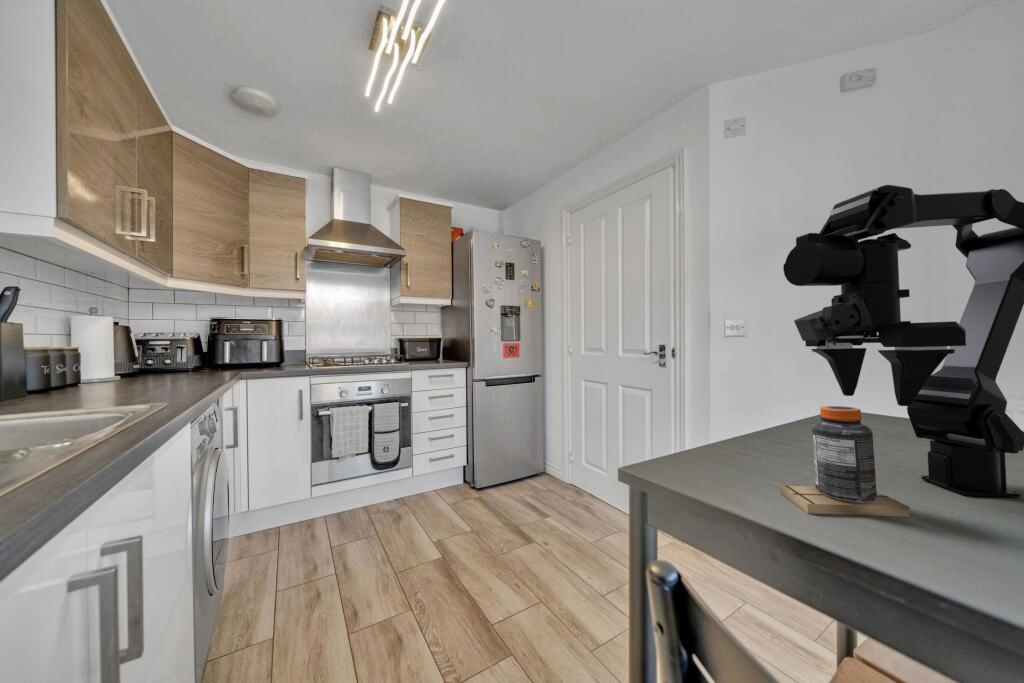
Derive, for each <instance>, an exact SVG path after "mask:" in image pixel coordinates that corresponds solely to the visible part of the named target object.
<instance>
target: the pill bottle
mask: <svg viewBox="0 0 1024 683" xmlns="http://www.w3.org/2000/svg"><path fill="white" fill-rule="evenodd" d="M819 411H820V412H819V414H820V415H819V416H820V420H818V421H817V422H815V423H814V424H813V425H812V427H811V431H812V432H811V433H812V434H811V438H812V450H813V464H814V465H813V466H814V480H815V482H814V484H815V486H816V489H817V490H818V491H819V492H820V493H822V494H824V495H826V496H828V497H831V498H835V499H839V500H844V501H849V502H861V503H864V502H872V501H874V500H876V498H877V492H878V491H877V490H878V489H877V477H876V476H877V475H876V467H875V466H876V465H875V462H876V460H875V449H874V437H873V431H872V429H871V428H870V427H869V426H867V425H864V424H863V423H862V422H861V421H862V419H863V416H862V411H861V408H858V407H851V406H843V405H842V406H841V405H840V406H838V405H829V406H828V405H826V406H821V407H820V408H819Z"/></svg>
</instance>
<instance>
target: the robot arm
mask: <svg viewBox="0 0 1024 683" xmlns="http://www.w3.org/2000/svg"><path fill="white" fill-rule="evenodd" d="M994 219H997V221H999V222H1001V223H1003V224H1006V225H1010V226H1011V228H1007V229H1003V230H1002V229H1001V230H999V231H998V230H997V231H993V232H988V233H984V234H981V235H978V234H977V233H976V232H975V231H974V230H973V224H977V223H982V222H985V221H989V220H994ZM941 226H942V227H943V226H952V227H953V229H955V230H956V238H955V239H956V240H955V245H954V246H955V247H956V249H957V250H958V251H959V252H960V253H961V254H962V255H963V256H964V257H965V258H966V262H965V267H966V269H967V271H968V272H969V273H970V275H971V276H972V278H973V279H974V285H973V287H972V290H971V292H970V295H969V297H968V301H967V303H966V306H965V308H964V311H963V313H962V316H961V318H960V320H959V323H958V322H957V321H931V322H930V321H929V322H911V321H912V320H903V321H902V320H901V318H902V317H901V299H904V298H910V297H911V296H910V288H906V289H901V288H900V273H899V271H900V270H899V252H901V251H905V250H909V249H911V248H912V244H911V243H910V242H909V241H908V240H906V239H903V238H902V237H900V236H899V235H898V234H897V233H895V232H892V233H889V234H885V235H882V234H884V233H885V232H887V231H890V230H896V229H897V230H899V229H909V228H910V229H912V228H913V229H914V228H925V227H926V228H927V227H928V228H929V227H941ZM878 235H881V236H878ZM874 236H877V237H876V238H870V237H874ZM782 270H783V273H784V274H783V275H784V277H785V279H786V280H787V281H788V283H790V284H791V285H793V286H796V287H814V286H815V287H818V286H820V287H825V286H826V287H832V286H833V287H835V286H837V287H838V286H840V291H841V292H840V294H837V295H833V296H832V298H831V300H830V302H831V306H825V307H823V308H822V309H821V310H818V311H816V312H815V311H814V312H812V313H809V314H807V315H805V316H802V317H799V318H796V319H794V320H793V322H794V324H795V327H796V329H797V331H798V334H799V335H800V338H801V340H802V341H803V342H804V343H805V347H815V348H811V351H812V352H813V353H816V354H818V355H820V356H821V357H822V358H824V359H825V360H826V362H827V363H828V365H829V367H830V368H831V371H832V373H833V375H834V377H835V379H836V381H837V383H838V385H839V388H840V391H841V392H842V395H843V396H845V397H853V396H854V395H855V391H856V389H857V387H858V383H859V380H860V376H861V375H860V374H861V371H862V367H863V363H864V359H865V356H866V352H867V348H866V347H853V346H863V344H879V343H880V344H881V346H882V347H883V348H894V349H878V350H877V351H878V353H879V354H880V355H881V356H882V357H883V358H884V359H886V360H887V361H888V362H889V363H890V367H891V375H892V381H893V389H894V396H895V400H896V403H897V405H898V406H900V407H906V412H907V415H908V418H909V420H910V423H911V426H912V429H913V432H914V434H915V437H916V438H918V439H926V440H929V449H930V450H928V452H927V464H928V465H927V466H928V475H921V479H922V480H924V481H926V482H929V483H931V484H934V485H935V486H940V487H942V488H945V489H948V490H950V491H953V492H955V493H957V494H960V495H964V496H971V497H973V496H974V497H978V496H979V497H1005V498H1006V497H1007V498H1008V497H1009V498H1010V497H1013V498H1015V497H1016V498H1019V497H1022V494H1021V493H1022V492H1019V491H1015V490H1013V489H1009V488H1008V487H1007V485H1008V484H1007V465H1006V454H1019V452H1022V451H1023V450H1024V431H1023V430H1022V429H1021V428H1020V426H1018V424H1016V423H1015V421H1014V420H1013V419H1012V418H1011V417H1010V416H1009V415H1008V414H1007V413H1006V410H1007V405H1008V401H1007V399H1006V397H1005V395H1004V393H1003V392H1002V390H1001V388H1000V387H999V385H998V383H997V382H996V381H997V376H998V374H999V372H1000V369H1001V365H1002V363H1003V360H1004V358H1005V355H1006V353H1007V349H1008V348H1009V346H1010V342H1011V339H1012V337H1013V334H1014V332H1015V330H1016V326H1017V324H1018V322H1019V318H1020V316H1021V313H1022V311H1023V307H1024V202H1022V201H1019V200H1017V199H1016V198H1015V197H1014V196H1013V195H1012V194H1011V193H1010V192H1009V191H1008V190H1006V189H1004V188H999V189H993V188H992V189H988V190H985V191H967V192H963V191H962V192H949V193H946V192H945V193H930V194H929V193H928V194H925V193H924V194H918V193H915V192H914V190H913V189H912V188H911V187H908V186H907V187H906V186H901V185H900V186H899V185H892V184H885V185H881V186H878V187H877V188H874V189H872V190H869V191H866V192H863V193H861V194H858V195H855V196H853V197H850V198H847V199H845V200H842V201H840V202H837V203H835V204H834V205H833V208H832V209H831V210H830V214H829V217H828V219H827V220H826V222H825V224H823V226H822V228H821V229H820V231H819V232H808V233H804V234H802V235H800V236H797V237H796V238H795V246H794V247H793V248H792V249H791V250H790V251H789V253H788V255H787V257H786V259H785V262H784V264H783V269H782ZM948 347H949V348H948ZM943 361H944V362H943ZM942 362H943V365H942V366H941V367H940V368H941V369H939V370H938V371H936V369H937V368H938V367H939V366H940V365H941V363H942ZM935 371H936V372H935Z"/></svg>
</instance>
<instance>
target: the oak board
mask: <svg viewBox="0 0 1024 683" xmlns="http://www.w3.org/2000/svg"><path fill="white" fill-rule="evenodd" d="M779 488H780V490H779V491H780V495H781V496H782V497H784V498H785V499H787V500H788V501H790V503H792V504H794V505H795V506H797V507H798V508H799V509H800V510H802V511H804V512H805V513H806V514H811V515H813V514H814V515H815V514H816V515H817V514H818V515H840V516H841V515H843V516H844V515H845V516H846V515H847V516H872V517H873V516H876V517H878V516H879V517H902V518H903V517H904V518H906V517H907V518H908V517H909V518H911V517H910V516H911V515H910V514H911V513H910V506H908V505H907V504H904V503H902V502H900V501H898V500H896V499H894V498H892V497H890V496H889V495H885V494H884V493H881V492H880V491H877V498H876V500H874V501H872V502H864V503H861V502H849V501H844V500H839V499H835V498H831V497H828V496H826V495H824V494H822V493H820V492H819V491H818V490H817V489H816V485H815V486H813V485H810V486H809V485H780V486H779Z"/></svg>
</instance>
